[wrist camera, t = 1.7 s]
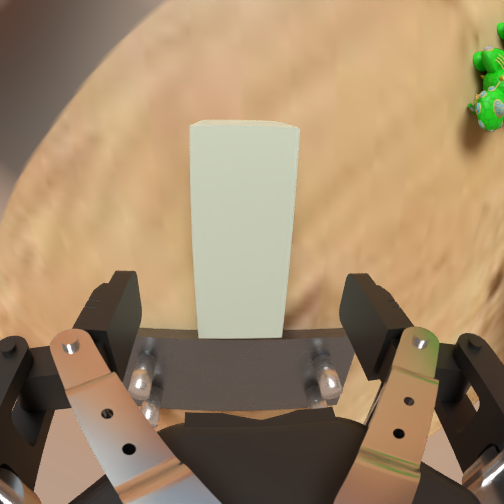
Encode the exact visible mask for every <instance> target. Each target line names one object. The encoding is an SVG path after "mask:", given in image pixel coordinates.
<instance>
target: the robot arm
mask: <svg viewBox="0 0 504 504" xmlns="http://www.w3.org/2000/svg"><path fill="white" fill-rule="evenodd" d="M339 316H340V321H341V324H342V326H343V328H344V330H345V332H346V334H347V336H348V338H349V340H350V342H351V345H352V347H353V349H354V351H355V353H356V355H357V357H358V360H359V362H360V364H361V366H362V368H363V370H364V373H365V375H366V377H367V379H368V381H370V380H377V379H380V380H381V382H382V383H381V385H380V387H379V389H378V392H377V394H376V397H375V399H374V401H373V404H372V406H371V409H370V411H369V413H368V415H367V418H366V420H365V422H364V424H361V423H359V422H356V421H353V420H350V419H346V418H341V417H335V414H334V411H333V408H332V407H326V408H316V409H306V410H297V411H294V412H290V413H287V414H283V415H280V416H276V417H273V418H269V419H265V420H256V419H250V418H245V417H239V416H234V415H229V414H224V413H187V412H185V423H181V424H176V425H173V426H169V427H167V428H164V429H162V430H160V431H158V432H156V431H155V430H154V428H153V427H152V426H151V424H150V423H149V421H148V420H147V419H146V417H145V416H144V414H143V413H142V412H141V410H140V409H139V407H138V406H137V404H136V403H135V402H134V400H133V399H132V397H131V396H130V394H129V393H128V391H127V390H126V388H125V387H124V385H123V380H124V376H125V373H126V369H127V366H128V362H129V359H130V355H131V352H132V349H133V345H134V342H135V339H136V335H137V332H138V329H139V326H140V323H141V317H142V307H141V300H140V293H139V286H138V279H137V274H136V272H135V271H115V273H114V275H113V276H112V278H111V280H110V282H109V283H103V284H101V285H100V286H99V287H97V288H96V289H95V290H94V291H93V292H92V294H91V296H90V298H89V300H88V301H87V303H86V304H85V307H84V308H83V310H82V311H81V313H80V315H79V317H78V319H77V320H76V322H75V324H74V326H73V328H72V329H68V330H65V331H62V332H60V333H59V334H57V335H56V336H55V337H54V338H53V339H52V341H51V343H50V346H45V347H37V348H29V346H28V343H27V341H26V340H25V339H24V338H23V337H20V336H10V337H6V338H4V339H2V340H1V341H0V504H41V501H40V499H39V497H38V496H37V495H36V494H35V492H34V487H35V482H36V478H37V473H38V469H39V465H40V461H41V457H42V453H43V449H44V446H45V442H46V438H47V434H48V431H49V428H50V424H51V421H52V418H53V415H54V411H55V410H57V409H66V408H72V409H73V412H74V413H75V416H76V418H77V420H78V422H79V424H80V426H81V429H82V431H83V433H84V435H85V437H86V438H87V441H88V443H89V445H90V446H91V448H92V450H93V452H94V454H95V456H96V458H97V460H98V461H99V463H100V465H101V466H102V468H103V470H104V472H105V475H104V476H102V477H101V478H100V479H99V480H97V481H96V482H95V483H94V484H93V485H91V486H90V487H89V488H88V489H86V490H85V491H84V492H82V493H81V494H80V495H79V496H77V497H76V498H75V499H74V500H72V501H71V502H70V503H68V504H504V365H503V364H502V362H501V361H500V359H499V358H498V357H497V355H496V354H495V353H494V351H493V350H492V349H491V347H490V346H489V345H488V343H487V342H486V341H485V340H484V339H482V338H481V337H479V336H477V335H475V334H471V333H465V334H462V335H460V337H459V338H458V340H457V342H456V344H455V345H453V344H444V343H439V340H438V338H437V337H436V336H435V335H434V334H433V333H432V332H431V331H429V330H427V329H425V328H421V327H414V325H413V324H412V323H411V321H410V320H409V318H408V317H407V316H406V314H405V313H404V312H403V310H402V309H401V308H399V305H398V304H397V302H395V300H394V298H393V297H392V296H391V294H390V293H389V292H388V291H386V290H385V289H384V288H382V287H381V286H379V285H376V284H375V282H374V281H373V280H372V278H371V277H370V276H369V275H368V274H367V273H358V274H348V276H347V278H346V282H345V286H344V291H343V295H342V300H341V304H340V309H339ZM471 385H472V387H473V389H474V390H475V392H476V394H477V395H478V397H479V401H480V406H479V409H478V411H477V412H476V410H475V408H474V406H473V405H472V403H471V401H470V399H469V398H468V396H467V394H466V392H467V391H468V389H469V388H470V386H471ZM16 399H17V401H16ZM15 401H16V403H15ZM14 404H15V406H14ZM13 406H14V408H13ZM12 409H13V411H12ZM434 409H435V412H436V414H437V416H438V418H439V420H440V422H441V424H442V426H443V429H444V431H445V433H446V435H447V437H448V440H449V442H450V444H451V446H452V449H453V451H454V453H455V456H456V458H457V460H458V463H459V465H460V467H461V470H462V472H463V477H462V485H460V484H459V483H457V482H455V481H454V480H452V479H450V478H448V477H447V476H445V475H443V474H442V473H440V472H438V471H436V470H435V469H433V468H432V467H430V466H428V465H426V464H425V463H423V462H422V461H421V460H422V456H423V453H424V449H425V445H426V442H427V438H428V434H429V429H430V425H431V421H432V416H433V412H434Z"/></svg>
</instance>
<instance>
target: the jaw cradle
mask: <svg viewBox="0 0 504 504" xmlns="http://www.w3.org/2000/svg"><path fill="white" fill-rule="evenodd" d="M354 353H355V351H354V349H353V347H352V345H351V342H350V340H349V338H348V336H347V334H346V332H345V330H344V328H338V329H316V330H284V331H283V332H282V337H281V338H228V339H219V338H199V336H198V330H171V329H150V328H139V329H138V332H137V335H136V339H135V342H134V345H133V349H132V352H131V355H130V359H129V362H128V366H127V369H126V373H125V376H124V380H123V385H124V387H125V388H126V390H127V391H128V393H129V394H130V396H131V397H132V399H133V400H134V402H135V403H136V404H137V406H141V412H142V413H143V414H144V416H145V417H146V419H147V420H148V421H149V423H150V424H151V426H152V427H153V428H156V427H157V426H158V420H159V414H160V408H167V409H184V410H213V411H248V410H277V409H294V408H307V407H308V408H309V409H316V408H326V407H328V406H329V405H337V402H338V399H339V397H340V395H341V393H342V391H343V389H342V388H343V386H344V383H345V380H346V377H347V374H348V371H349V368H350V365H351V362H352V359H353V356H354Z"/></svg>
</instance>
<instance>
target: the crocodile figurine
mask: <svg viewBox="0 0 504 504" xmlns="http://www.w3.org/2000/svg"><path fill="white" fill-rule="evenodd" d="M497 32H498V35H499V36H500V38H501V39H503V40H504V23H499V24H498V25H497ZM473 63H474V66H475V68H476V69H477V70H478V71H480V72H483V71H485V70H486V71H487V74H486V75H481V77H482V78H483V87H482V89H483V90H484V91H482V92H481V93H480V94H476V97H475V100H474V106H473V105H472V104H471V103H470V104H469V105H468V107H470V110H471V111H474V112H473V115H475V113H477V119H478V124H479V126H480V127H481V128H482V129H485V130H487V131H488V132H490V133H493V132H494V131H495V130H496V129H498V128H500V127H502V125H503V120H504V51H503V50H500V49H497V48H493V47H491V46H486V47H485V48H484V51H483V52H476V53H475V54H474V56H473ZM468 107H467V108H468ZM473 115H472V116H473Z"/></svg>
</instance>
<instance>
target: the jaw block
mask: <svg viewBox="0 0 504 504" xmlns="http://www.w3.org/2000/svg"><path fill="white" fill-rule="evenodd" d="M299 135H300V128H298V127H295V126H292V125H289V124H285V123H282V122H279V121H258V120H201V121H199V122H197V123H195V124H193V125H190V190H191V223H192V246H193V265H194V282H195V298H196V311H197V324H198V336H199V338H219V339H228V338H281V337H282V332H283V323H284V314H285V304H286V295H287V285H288V275H289V264H290V254H291V243H292V231H293V220H294V207H295V194H296V181H297V166H298V151H299Z"/></svg>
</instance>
